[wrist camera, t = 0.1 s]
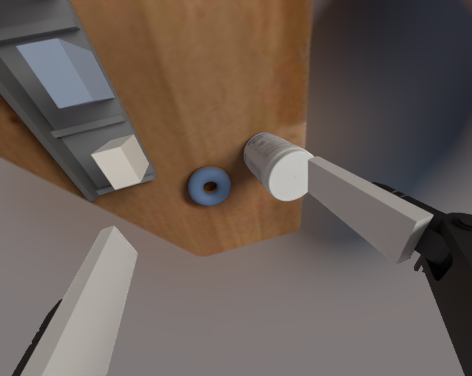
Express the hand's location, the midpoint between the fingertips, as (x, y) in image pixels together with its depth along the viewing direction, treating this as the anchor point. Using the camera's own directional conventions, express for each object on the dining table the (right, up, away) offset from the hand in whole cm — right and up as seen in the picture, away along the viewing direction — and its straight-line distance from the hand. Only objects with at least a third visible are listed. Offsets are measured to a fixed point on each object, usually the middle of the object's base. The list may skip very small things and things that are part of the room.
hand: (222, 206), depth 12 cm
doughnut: (-6, +3, +30) cm, 31 cm away
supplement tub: (+7, +10, +30) cm, 32 cm away
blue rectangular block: (-21, +18, +15) cm, 31 cm away
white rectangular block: (-19, +8, +21) cm, 29 cm away
